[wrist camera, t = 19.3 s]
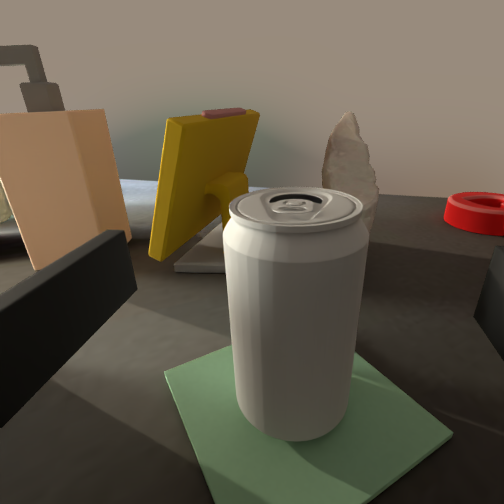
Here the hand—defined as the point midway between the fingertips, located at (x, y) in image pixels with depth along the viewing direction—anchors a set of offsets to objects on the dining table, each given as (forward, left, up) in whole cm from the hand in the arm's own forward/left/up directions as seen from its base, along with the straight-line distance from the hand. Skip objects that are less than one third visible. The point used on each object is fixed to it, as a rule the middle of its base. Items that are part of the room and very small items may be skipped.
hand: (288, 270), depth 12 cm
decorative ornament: (+13, -41, -11) cm, 45 cm away
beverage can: (+2, -2, -10) cm, 11 cm away
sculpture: (+14, -17, -11) cm, 25 cm away
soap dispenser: (+34, +9, -11) cm, 37 cm away
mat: (+2, -2, -11) cm, 11 cm away
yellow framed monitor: (+24, -8, -11) cm, 28 cm away
